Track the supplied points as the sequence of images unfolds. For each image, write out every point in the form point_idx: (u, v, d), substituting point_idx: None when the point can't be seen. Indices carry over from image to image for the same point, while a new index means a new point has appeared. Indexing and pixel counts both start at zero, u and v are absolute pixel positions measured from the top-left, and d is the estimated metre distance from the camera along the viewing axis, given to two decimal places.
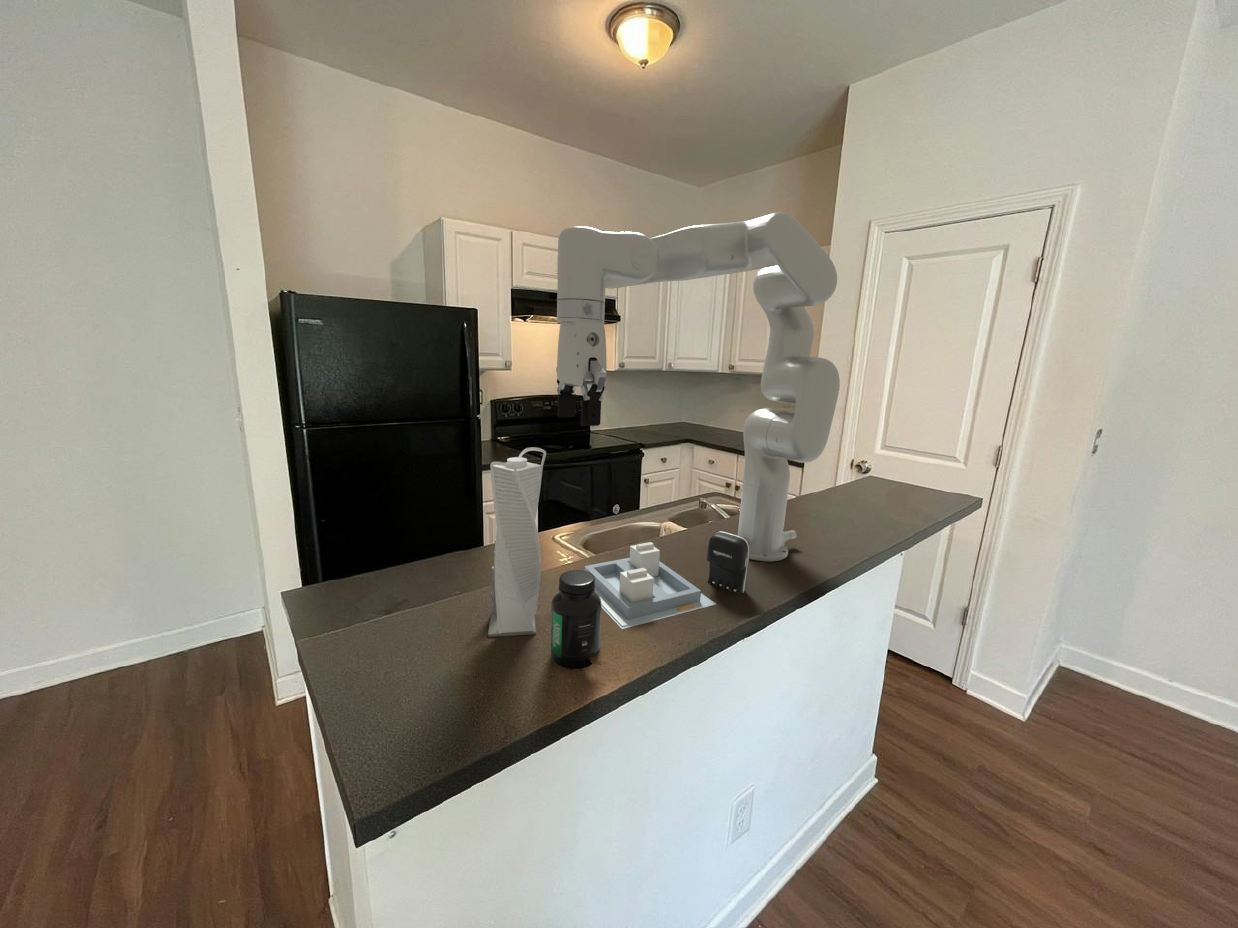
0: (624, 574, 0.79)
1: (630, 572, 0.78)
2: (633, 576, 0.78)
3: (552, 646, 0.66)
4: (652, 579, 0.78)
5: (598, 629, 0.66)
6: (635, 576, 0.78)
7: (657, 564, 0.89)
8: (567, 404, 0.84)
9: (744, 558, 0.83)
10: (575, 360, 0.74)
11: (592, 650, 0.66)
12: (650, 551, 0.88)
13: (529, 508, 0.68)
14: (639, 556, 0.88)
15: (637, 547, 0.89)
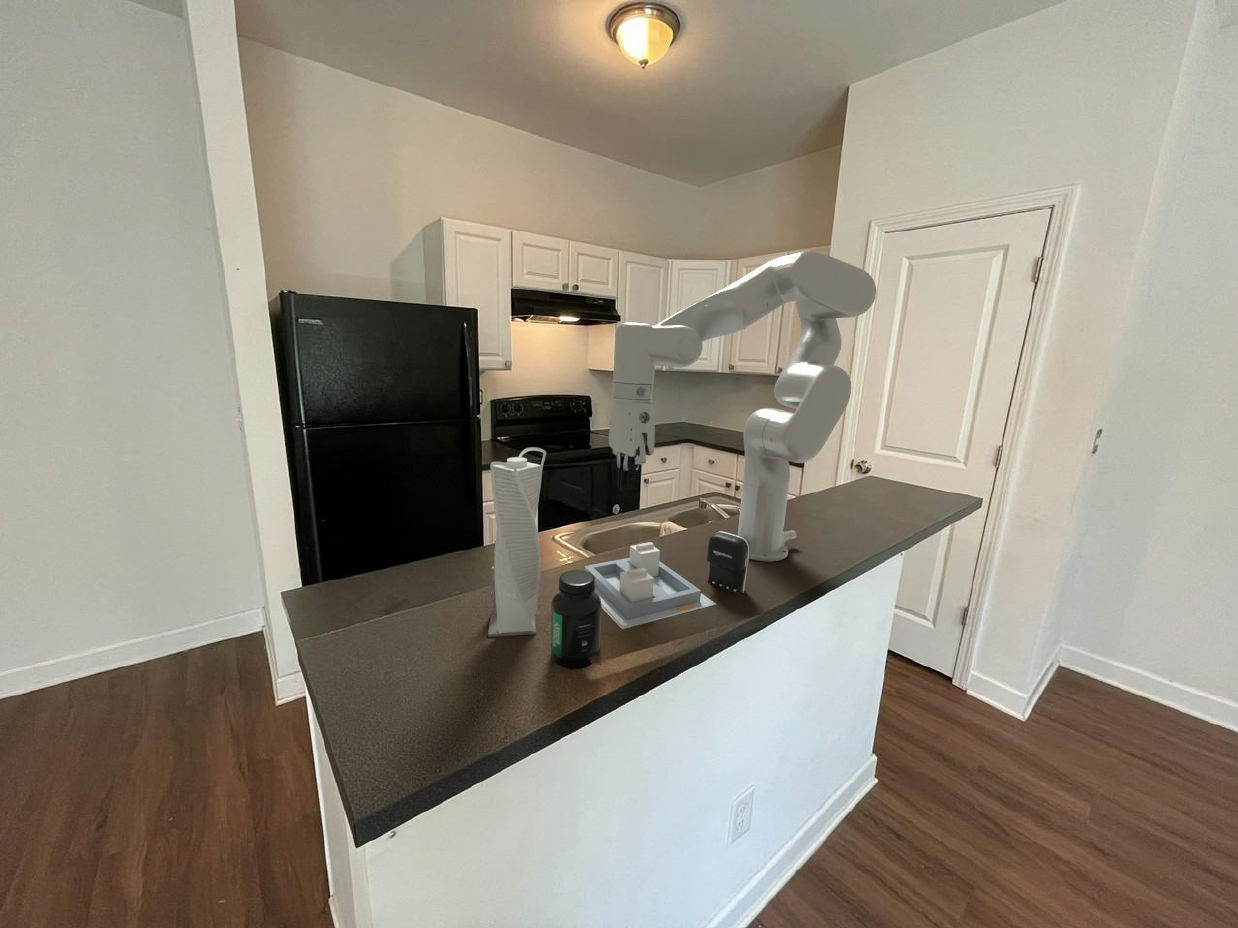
0: (624, 574, 0.79)
1: (630, 572, 0.78)
2: (633, 576, 0.78)
3: (552, 646, 0.66)
4: (652, 579, 0.78)
5: (598, 629, 0.66)
6: (635, 576, 0.78)
7: (657, 564, 0.89)
8: None
9: (744, 558, 0.83)
10: (628, 434, 0.87)
11: (592, 650, 0.66)
12: (650, 551, 0.88)
13: (529, 508, 0.68)
14: (639, 556, 0.88)
15: (637, 547, 0.89)
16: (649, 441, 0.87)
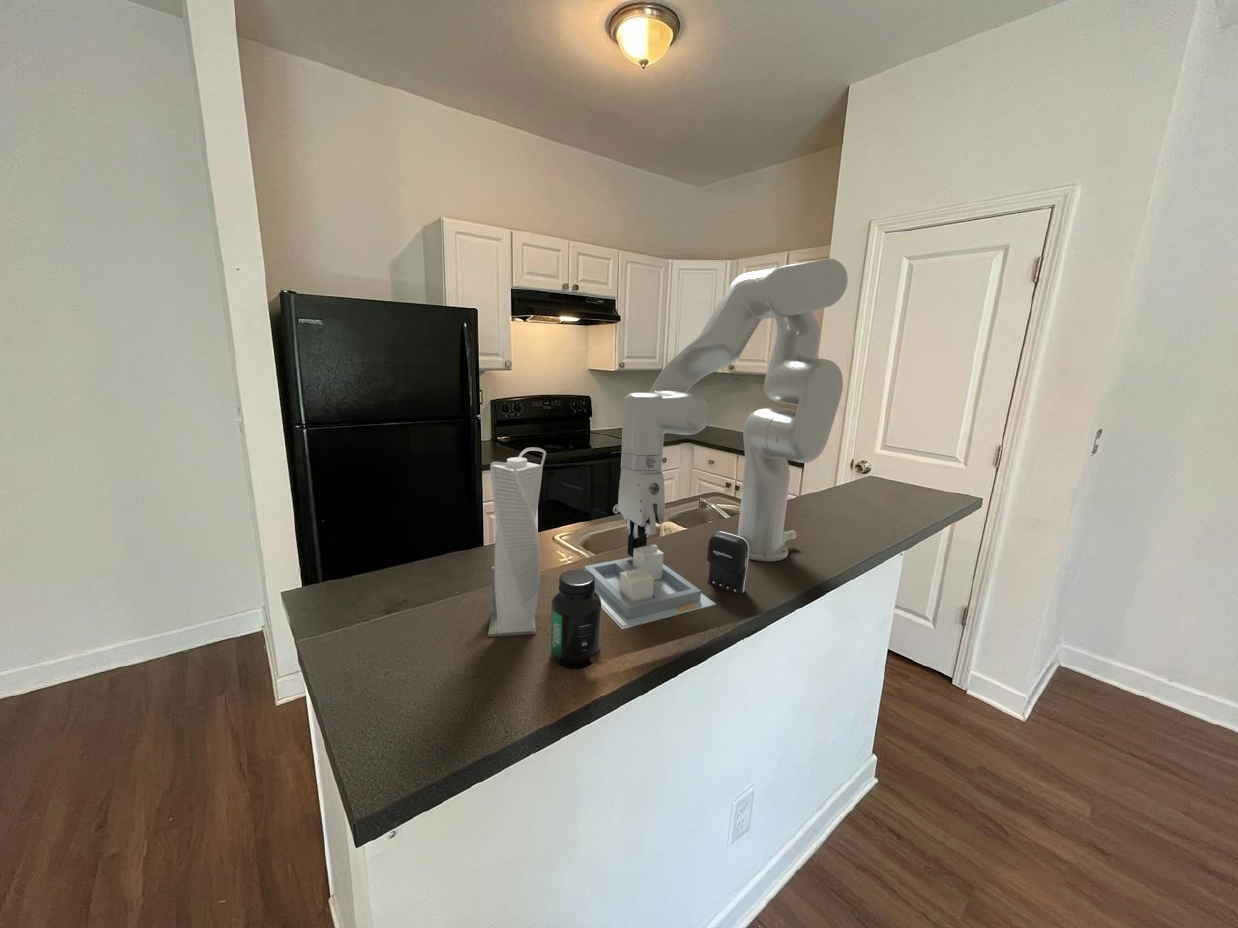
0: (624, 574, 0.79)
1: (630, 572, 0.78)
2: (633, 576, 0.78)
3: (552, 646, 0.66)
4: (652, 579, 0.78)
5: (598, 629, 0.66)
6: (635, 576, 0.78)
7: (661, 567, 0.88)
8: None
9: (744, 558, 0.83)
10: (638, 505, 0.86)
11: (592, 650, 0.66)
12: (654, 553, 0.87)
13: (529, 508, 0.68)
14: (643, 559, 0.87)
15: (640, 550, 0.88)
16: (659, 511, 0.87)
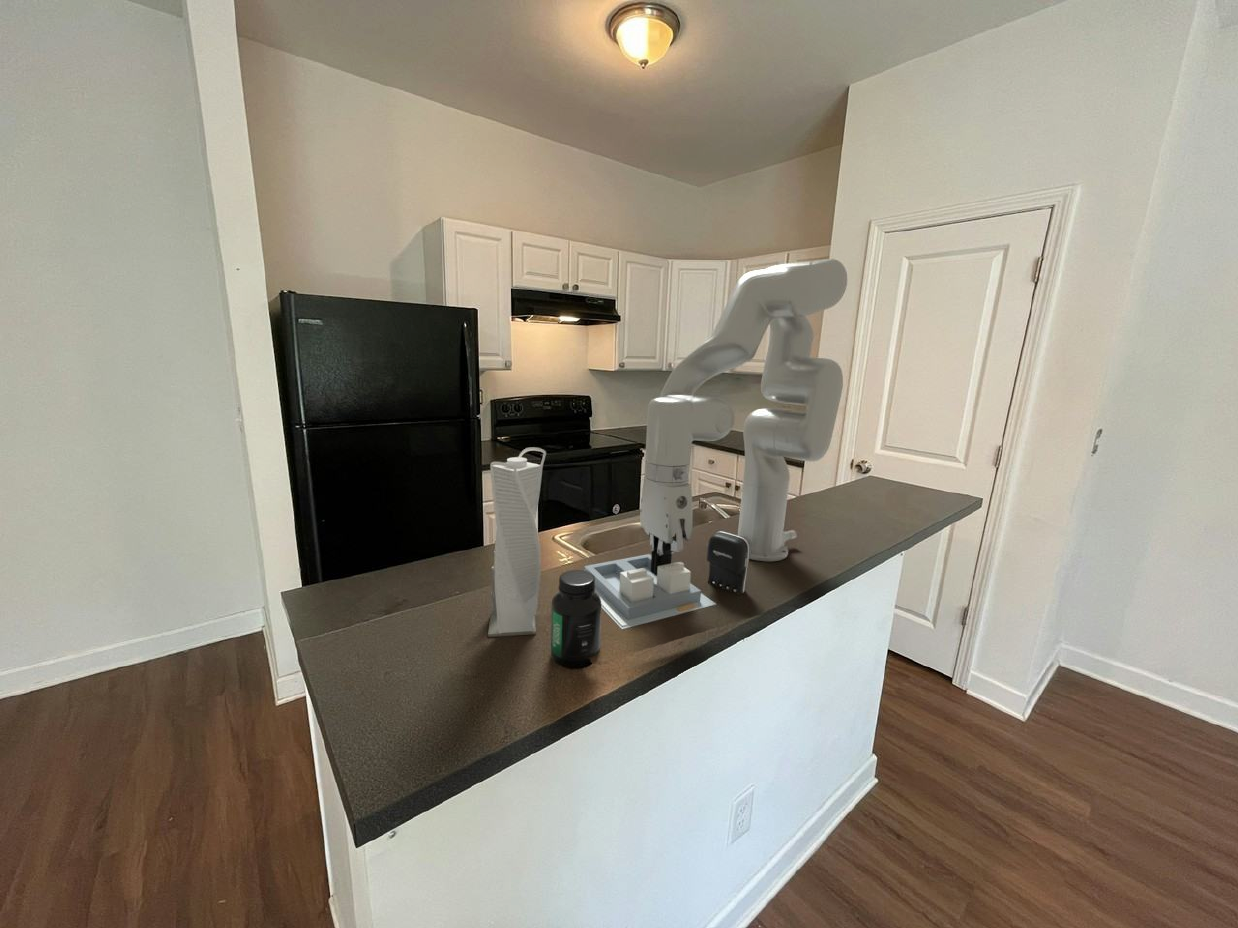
0: (624, 574, 0.79)
1: (630, 572, 0.78)
2: (633, 576, 0.78)
3: (552, 646, 0.66)
4: (652, 579, 0.78)
5: (598, 629, 0.66)
6: (635, 576, 0.78)
7: (688, 586, 0.81)
8: None
9: (744, 558, 0.83)
10: (664, 520, 0.79)
11: (592, 650, 0.66)
12: (680, 572, 0.80)
13: (529, 508, 0.68)
14: (668, 578, 0.80)
15: (666, 568, 0.81)
16: (687, 527, 0.79)
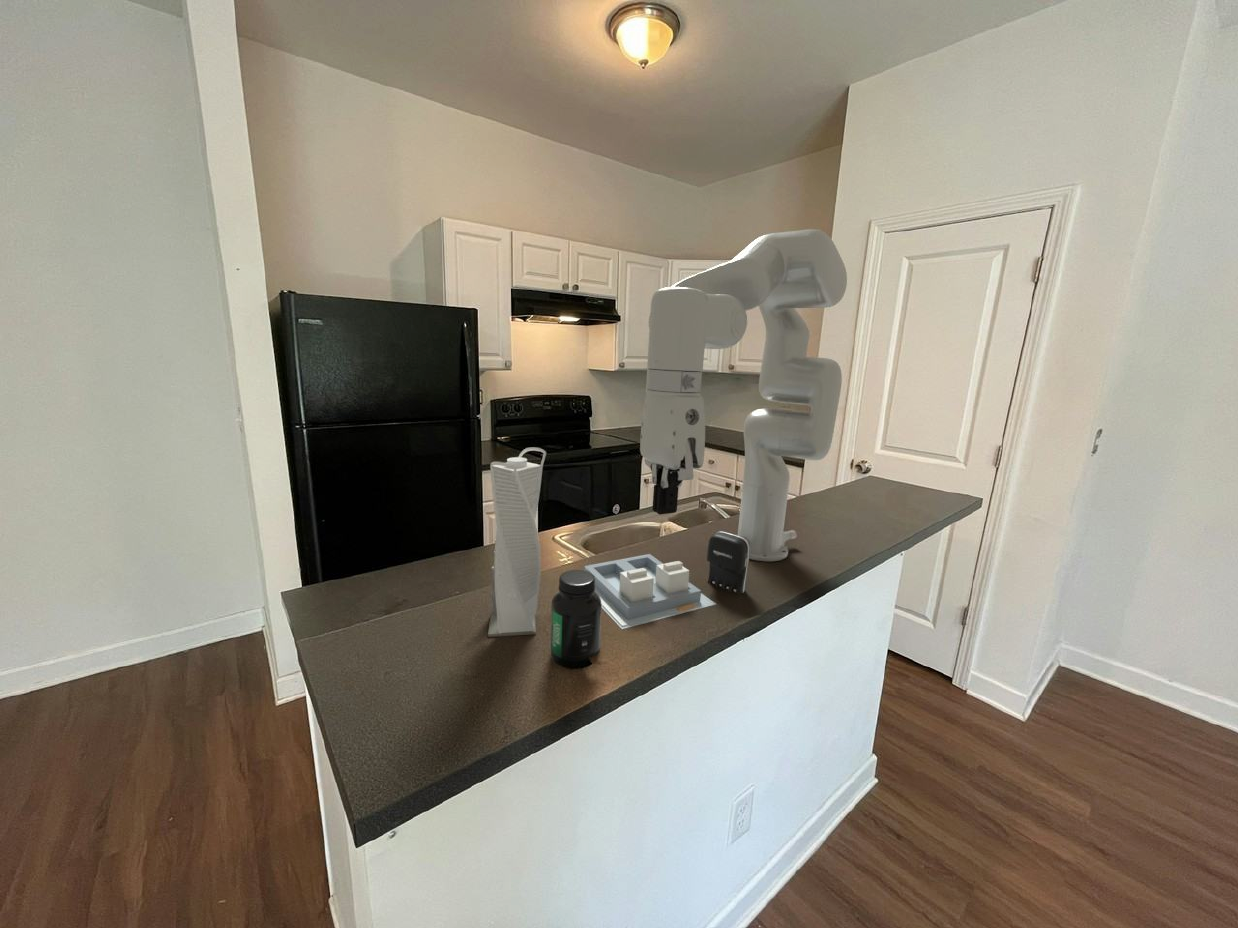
0: (624, 574, 0.79)
1: (630, 572, 0.78)
2: (633, 576, 0.78)
3: (552, 646, 0.66)
4: (652, 579, 0.78)
5: (598, 629, 0.66)
6: (635, 576, 0.78)
7: (686, 585, 0.82)
8: None
9: (744, 558, 0.83)
10: (670, 440, 0.64)
11: (592, 650, 0.66)
12: (679, 571, 0.81)
13: (529, 508, 0.68)
14: (667, 577, 0.80)
15: (664, 567, 0.81)
16: (698, 449, 0.64)
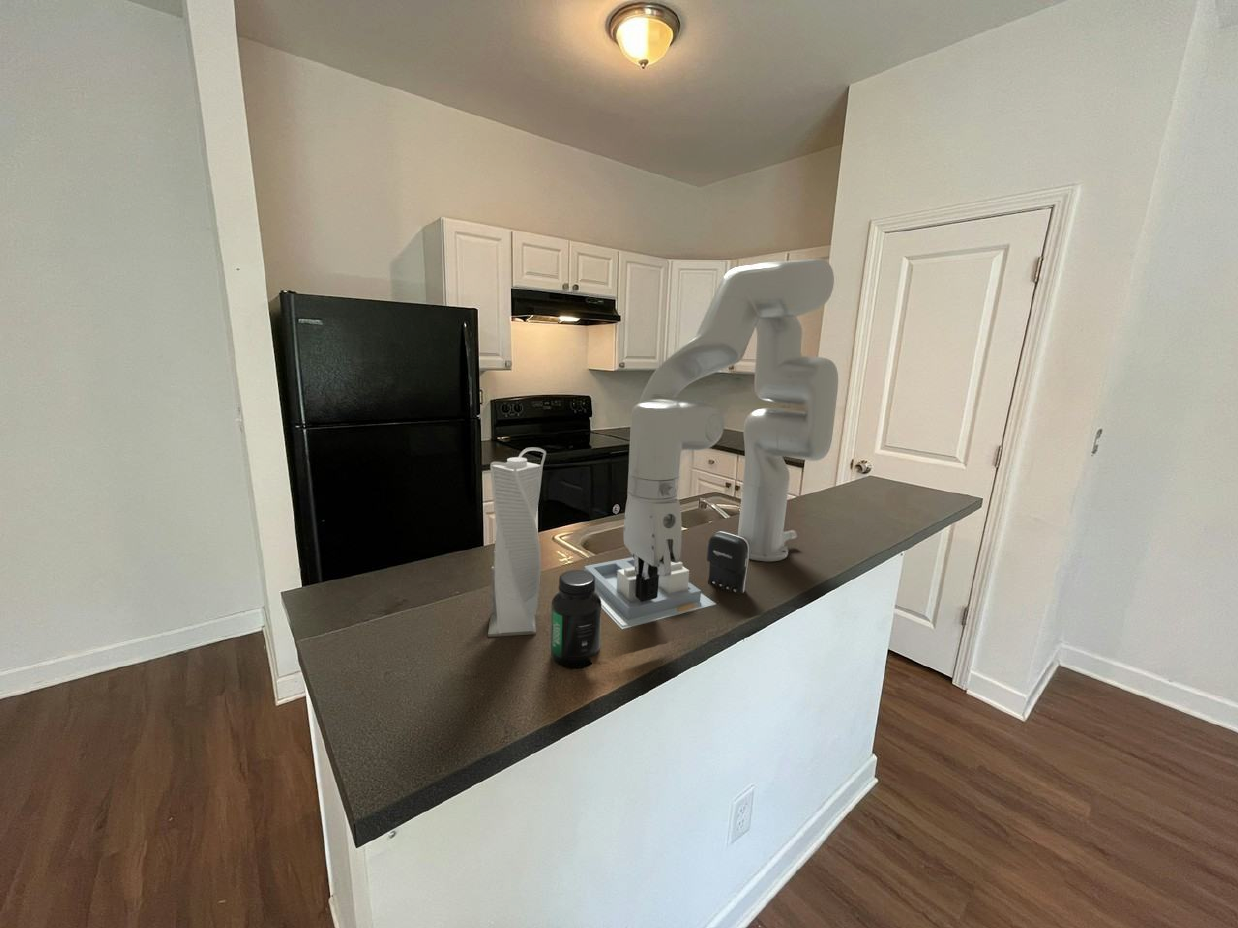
0: (621, 572, 0.80)
1: (627, 569, 0.79)
2: (630, 574, 0.79)
3: (552, 646, 0.66)
4: None
5: (598, 629, 0.66)
6: (632, 574, 0.79)
7: (686, 585, 0.82)
8: None
9: (744, 558, 0.83)
10: (650, 541, 0.70)
11: (592, 650, 0.66)
12: (679, 571, 0.81)
13: (529, 508, 0.68)
14: (667, 577, 0.80)
15: None
16: (675, 548, 0.71)
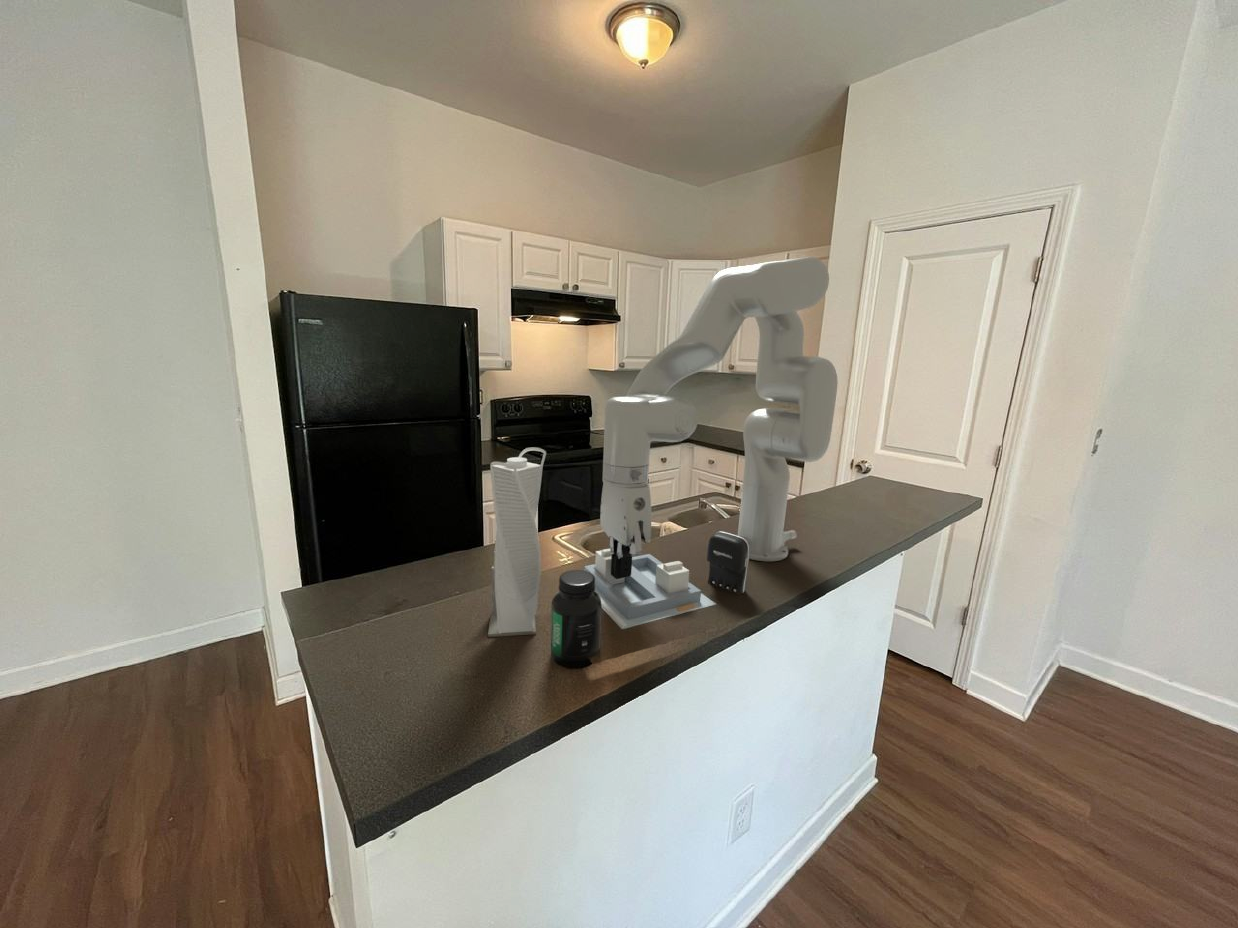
0: (599, 553, 0.87)
1: (604, 550, 0.86)
2: (607, 554, 0.86)
3: (552, 646, 0.66)
4: None
5: (598, 629, 0.66)
6: (609, 554, 0.86)
7: (686, 585, 0.82)
8: None
9: (744, 558, 0.83)
10: (622, 522, 0.77)
11: (592, 650, 0.66)
12: (679, 571, 0.81)
13: (529, 508, 0.68)
14: (667, 577, 0.80)
15: (664, 567, 0.81)
16: (645, 529, 0.78)
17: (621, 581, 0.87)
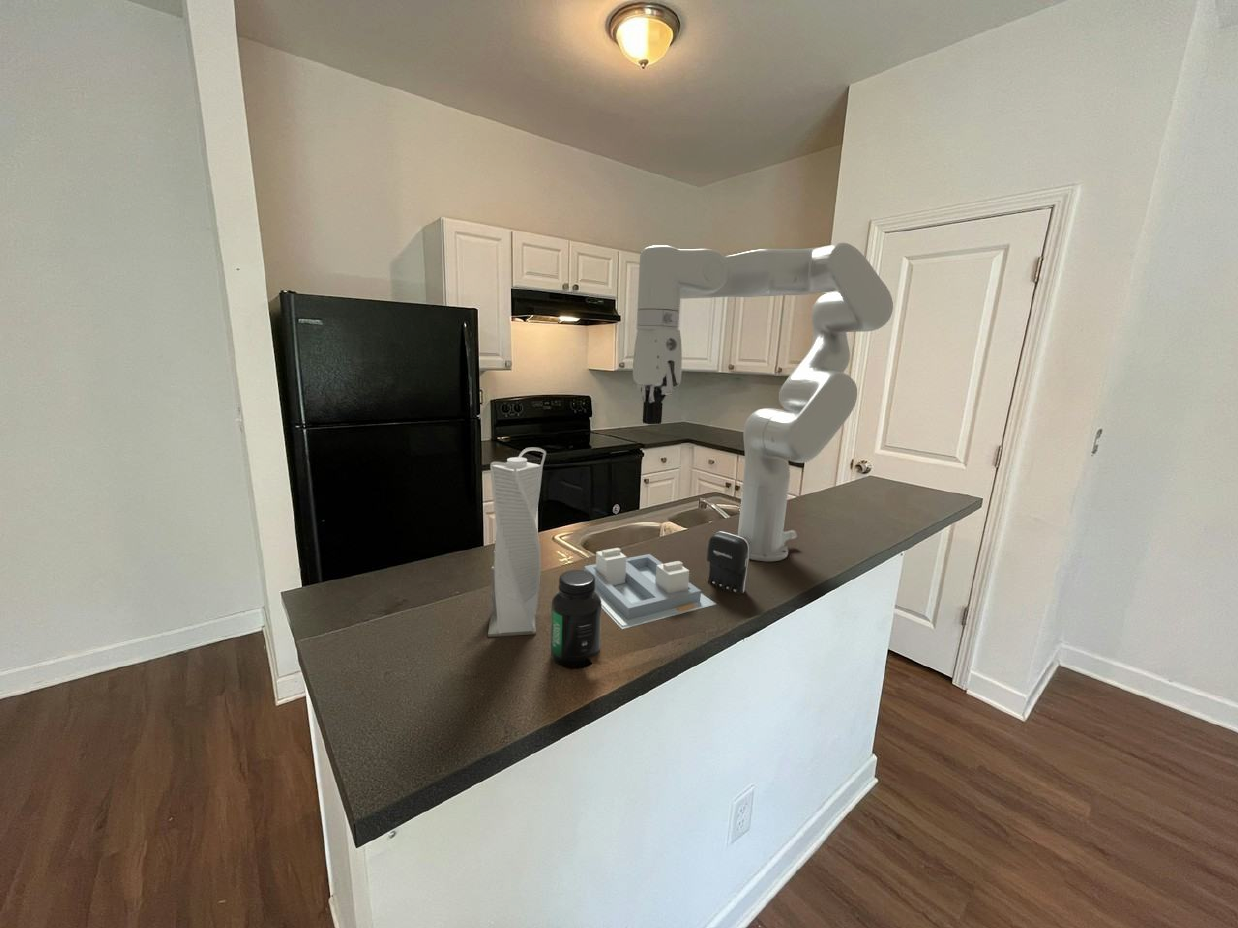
0: (599, 553, 0.87)
1: (605, 551, 0.86)
2: (607, 555, 0.86)
3: (552, 646, 0.66)
4: (625, 557, 0.86)
5: (598, 629, 0.66)
6: (609, 555, 0.86)
7: (686, 585, 0.82)
8: None
9: (744, 558, 0.83)
10: (655, 363, 0.84)
11: (592, 650, 0.66)
12: (679, 571, 0.81)
13: (529, 508, 0.68)
14: (667, 577, 0.80)
15: (664, 567, 0.81)
16: (676, 370, 0.85)
17: (622, 582, 0.86)
